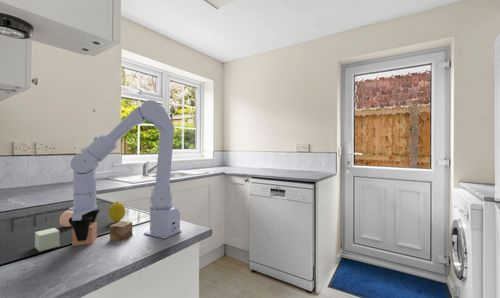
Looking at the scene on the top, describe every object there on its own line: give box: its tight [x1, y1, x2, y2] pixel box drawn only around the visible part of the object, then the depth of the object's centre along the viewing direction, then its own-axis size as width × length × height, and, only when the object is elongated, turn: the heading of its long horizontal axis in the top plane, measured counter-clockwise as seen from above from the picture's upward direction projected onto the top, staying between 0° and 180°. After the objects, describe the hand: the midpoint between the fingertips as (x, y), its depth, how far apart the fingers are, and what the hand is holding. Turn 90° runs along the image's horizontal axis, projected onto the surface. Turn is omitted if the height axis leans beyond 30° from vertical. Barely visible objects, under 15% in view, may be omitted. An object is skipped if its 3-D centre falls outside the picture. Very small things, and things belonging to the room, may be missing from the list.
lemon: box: [108, 201, 126, 223], centre depth 90 cm, size 6×6×8 cm
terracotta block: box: [71, 221, 98, 247], centre depth 72 cm, size 5×5×5 cm
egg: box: [59, 209, 73, 228], centre depth 85 cm, size 5×5×6 cm
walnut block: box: [109, 220, 133, 242], centre depth 76 cm, size 4×4×4 cm
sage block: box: [34, 227, 61, 252], centre depth 69 cm, size 4×4×4 cm
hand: (85, 236), depth 72 cm, fingers closed on terracotta block, 5 cm apart
